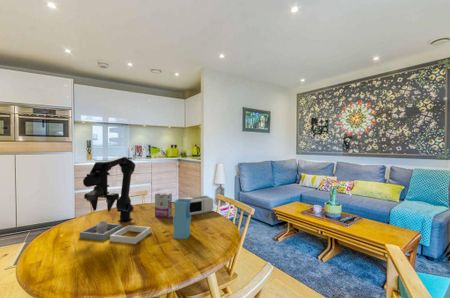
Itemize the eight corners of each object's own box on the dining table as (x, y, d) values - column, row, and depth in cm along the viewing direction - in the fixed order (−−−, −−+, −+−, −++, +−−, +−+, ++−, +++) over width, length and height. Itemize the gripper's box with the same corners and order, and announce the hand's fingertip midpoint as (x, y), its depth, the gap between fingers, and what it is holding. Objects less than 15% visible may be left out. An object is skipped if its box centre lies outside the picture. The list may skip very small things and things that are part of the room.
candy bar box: (172, 216, 154) (172, 193, 154) (168, 218, 149) (168, 194, 149) (158, 214, 157) (158, 192, 157) (154, 216, 153) (154, 193, 152)
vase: (186, 239, 116) (186, 202, 116) (172, 238, 118) (172, 201, 117) (191, 233, 124) (191, 199, 123) (178, 232, 125) (178, 198, 125)
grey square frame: (100, 227, 132) (100, 222, 132) (122, 229, 129) (122, 224, 129) (79, 237, 117) (79, 232, 117) (103, 240, 114) (103, 234, 114)
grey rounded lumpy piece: (110, 231, 127) (110, 219, 127) (104, 236, 120) (104, 223, 120) (99, 231, 126) (99, 219, 126) (93, 236, 119) (92, 223, 119)
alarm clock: (178, 218, 150) (178, 201, 150) (174, 214, 158) (174, 198, 158) (213, 212, 164) (213, 196, 164) (208, 209, 172) (208, 194, 172)
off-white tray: (128, 230, 128) (128, 225, 128) (151, 232, 125) (151, 227, 125) (109, 241, 113) (109, 235, 113) (135, 243, 110) (135, 238, 110)
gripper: (75, 185, 117) (75, 214, 117) (105, 187, 113) (105, 216, 113) (92, 182, 127) (92, 208, 128) (119, 183, 124) (119, 210, 124)
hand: (101, 211), depth 123 cm, fingers open, 9 cm apart
